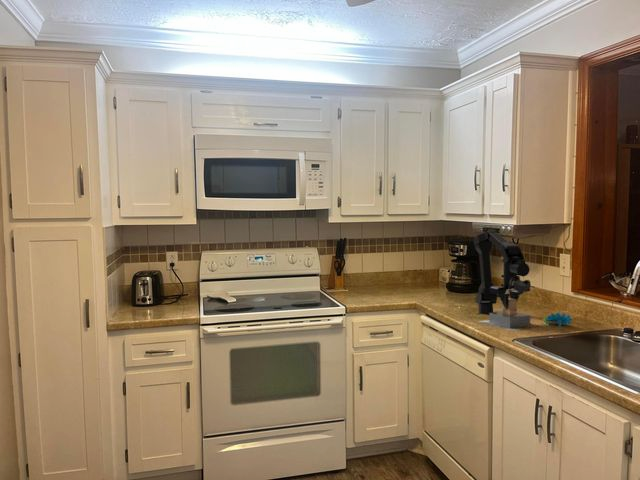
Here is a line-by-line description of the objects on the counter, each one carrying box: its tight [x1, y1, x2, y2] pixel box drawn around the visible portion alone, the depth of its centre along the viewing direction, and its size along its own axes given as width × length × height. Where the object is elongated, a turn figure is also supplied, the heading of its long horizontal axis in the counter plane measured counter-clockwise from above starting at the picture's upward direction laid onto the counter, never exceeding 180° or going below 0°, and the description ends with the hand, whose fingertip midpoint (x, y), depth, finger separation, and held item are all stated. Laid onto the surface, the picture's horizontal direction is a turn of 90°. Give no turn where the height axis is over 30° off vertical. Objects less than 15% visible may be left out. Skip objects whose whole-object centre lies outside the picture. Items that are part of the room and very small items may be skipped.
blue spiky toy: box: [543, 312, 573, 328], centre depth 209 cm, size 11×6×10 cm
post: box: [502, 297, 518, 316], centre depth 213 cm, size 4×4×10 cm
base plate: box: [478, 319, 540, 332], centre depth 213 cm, size 20×18×1 cm
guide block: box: [488, 310, 531, 329], centre depth 213 cm, size 12×12×5 cm
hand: (509, 307), depth 213 cm, fingers closed on post, 4 cm apart
